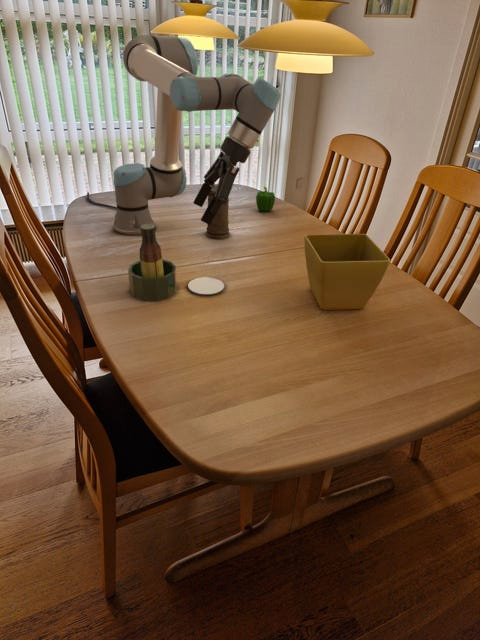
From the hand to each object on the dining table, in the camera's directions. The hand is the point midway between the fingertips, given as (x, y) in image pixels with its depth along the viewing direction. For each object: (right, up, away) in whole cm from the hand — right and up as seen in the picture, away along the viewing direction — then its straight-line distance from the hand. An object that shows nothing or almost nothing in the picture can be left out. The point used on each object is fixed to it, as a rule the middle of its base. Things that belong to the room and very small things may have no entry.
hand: (201, 213), depth 122 cm
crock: (-15, -21, +8) cm, 27 cm away
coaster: (+1, -20, +11) cm, 22 cm away
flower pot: (+39, -24, +8) cm, 47 cm away
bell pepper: (+22, +19, +74) cm, 79 cm away
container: (+2, +3, +47) cm, 47 cm away
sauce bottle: (-15, -21, +8) cm, 27 cm away
